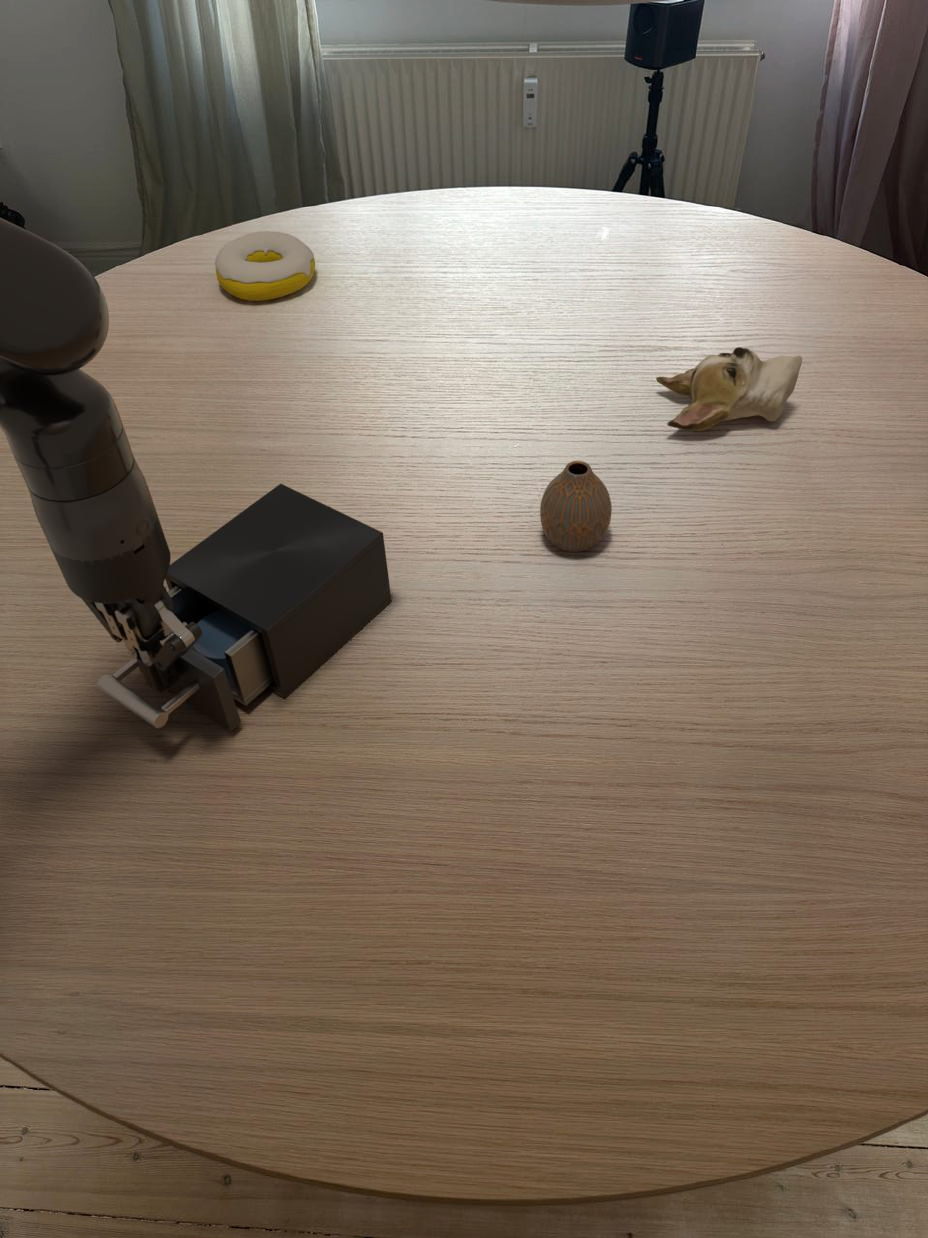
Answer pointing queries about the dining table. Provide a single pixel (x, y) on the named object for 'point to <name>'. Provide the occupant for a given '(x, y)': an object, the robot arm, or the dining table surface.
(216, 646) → the cylinder
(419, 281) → the dining table surface
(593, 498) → the vase
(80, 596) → the robot arm
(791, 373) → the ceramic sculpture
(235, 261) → the donut
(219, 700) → the drawer
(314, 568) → the cabinet
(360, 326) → the dining table surface
